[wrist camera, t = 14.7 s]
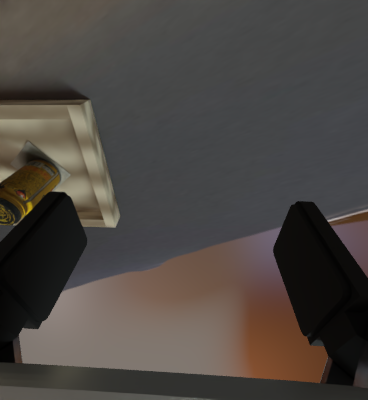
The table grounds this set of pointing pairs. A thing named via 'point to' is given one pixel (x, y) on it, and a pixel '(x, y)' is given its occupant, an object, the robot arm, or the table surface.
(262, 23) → the table surface
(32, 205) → the condiment
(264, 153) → the table surface
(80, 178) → the tray
